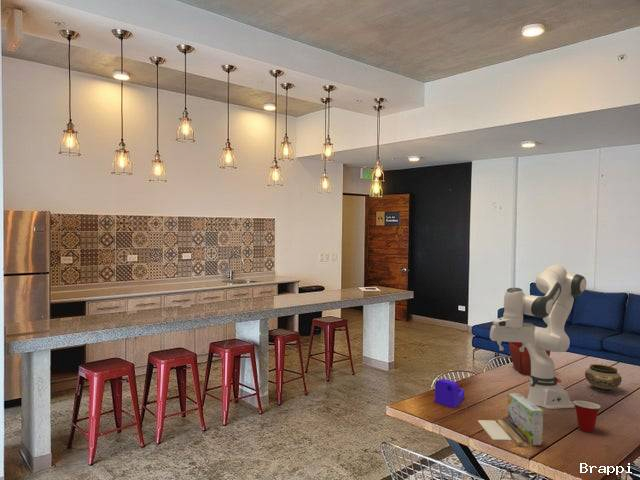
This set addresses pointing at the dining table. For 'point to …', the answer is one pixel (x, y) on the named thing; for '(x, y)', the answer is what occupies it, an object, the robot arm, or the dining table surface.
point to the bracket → (448, 393)
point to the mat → (494, 430)
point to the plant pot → (521, 358)
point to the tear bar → (512, 432)
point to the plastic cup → (586, 415)
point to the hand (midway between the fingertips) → (511, 351)
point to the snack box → (526, 418)
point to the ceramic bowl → (603, 377)
